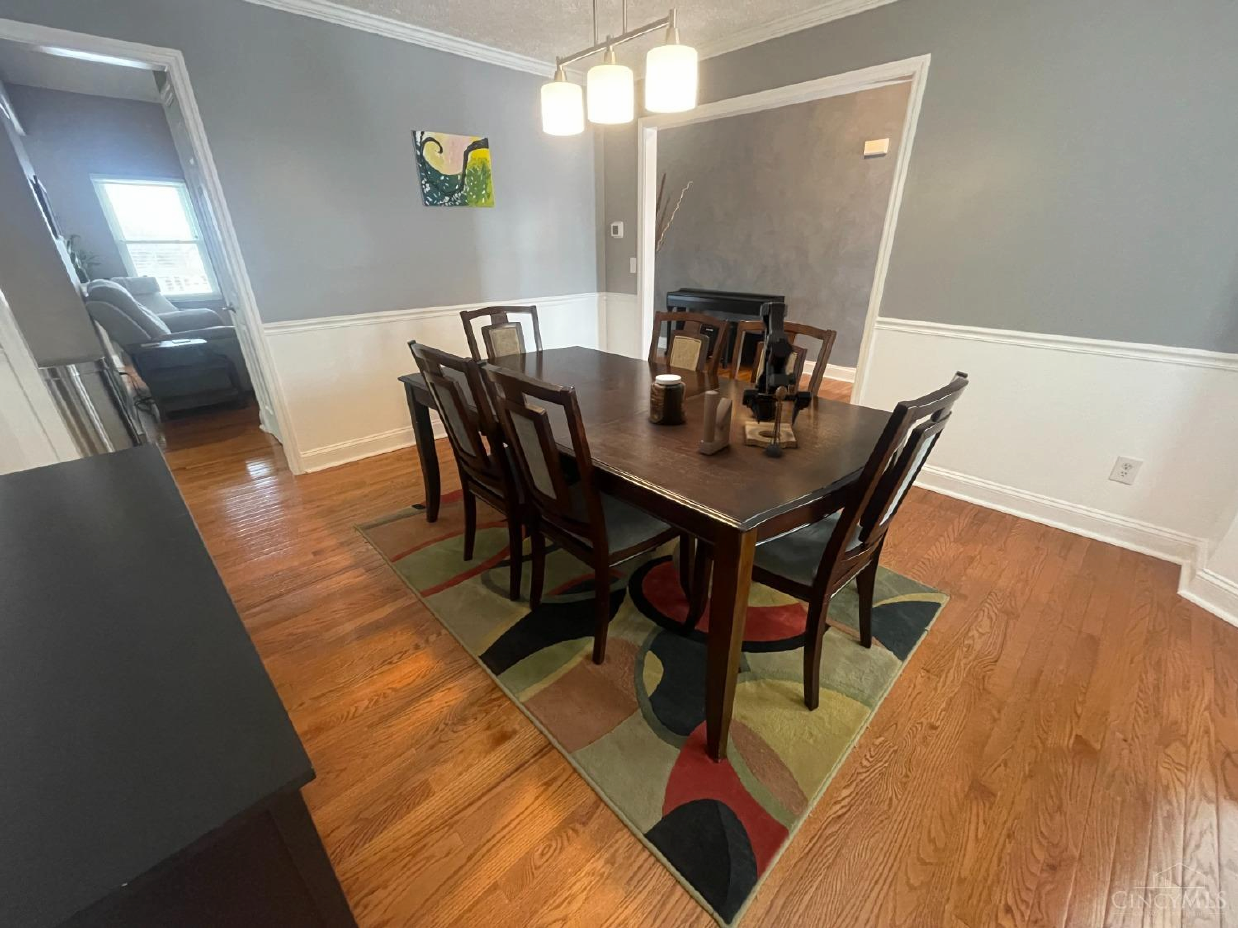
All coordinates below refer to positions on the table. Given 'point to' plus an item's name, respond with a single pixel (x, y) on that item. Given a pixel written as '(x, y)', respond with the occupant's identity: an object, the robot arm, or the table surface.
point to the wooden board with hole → (768, 434)
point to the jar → (667, 400)
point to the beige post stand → (715, 423)
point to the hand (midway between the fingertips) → (775, 424)
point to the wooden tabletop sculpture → (774, 447)
